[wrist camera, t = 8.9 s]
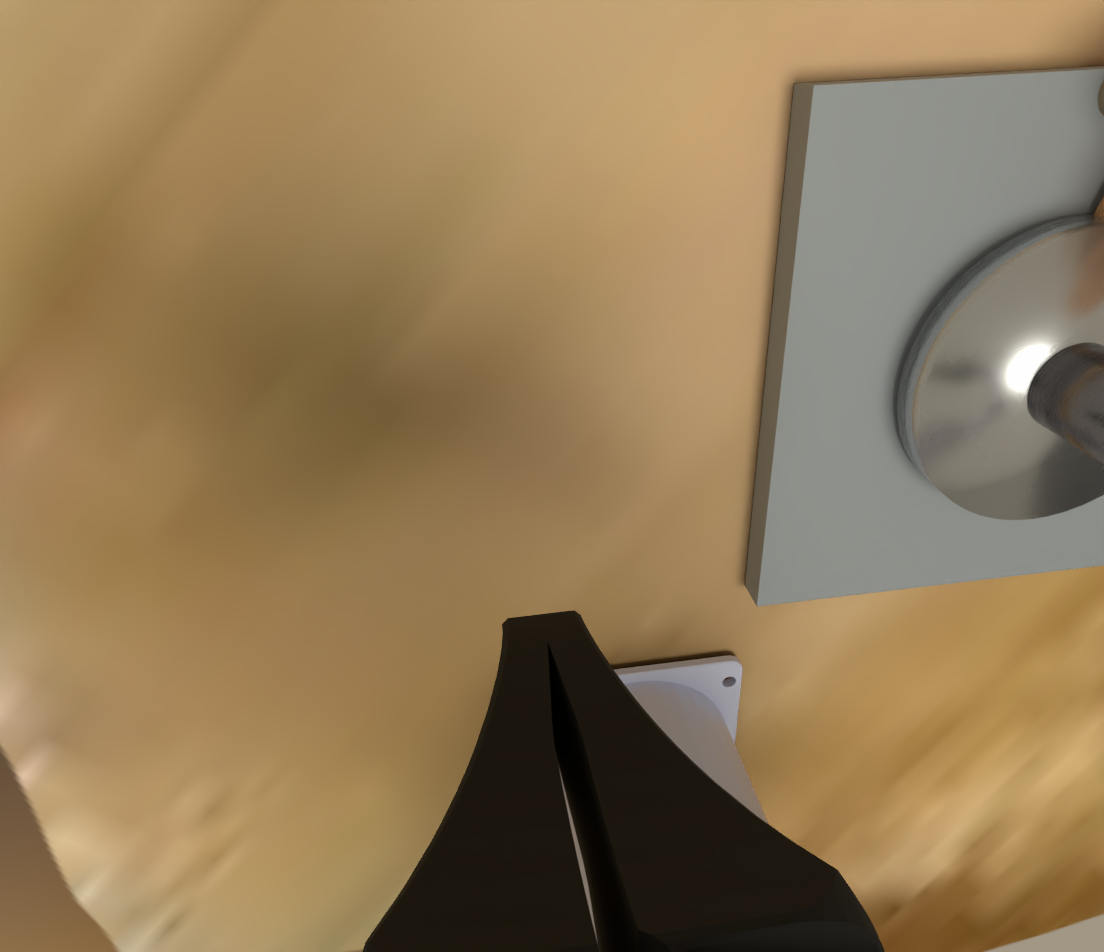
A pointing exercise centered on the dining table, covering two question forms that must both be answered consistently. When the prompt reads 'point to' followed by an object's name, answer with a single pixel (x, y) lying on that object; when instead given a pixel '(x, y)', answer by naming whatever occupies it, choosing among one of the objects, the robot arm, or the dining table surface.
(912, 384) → the silver orange domed piece
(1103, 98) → the dowel
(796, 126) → the board
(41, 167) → the dining table surface
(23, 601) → the dining table surface
